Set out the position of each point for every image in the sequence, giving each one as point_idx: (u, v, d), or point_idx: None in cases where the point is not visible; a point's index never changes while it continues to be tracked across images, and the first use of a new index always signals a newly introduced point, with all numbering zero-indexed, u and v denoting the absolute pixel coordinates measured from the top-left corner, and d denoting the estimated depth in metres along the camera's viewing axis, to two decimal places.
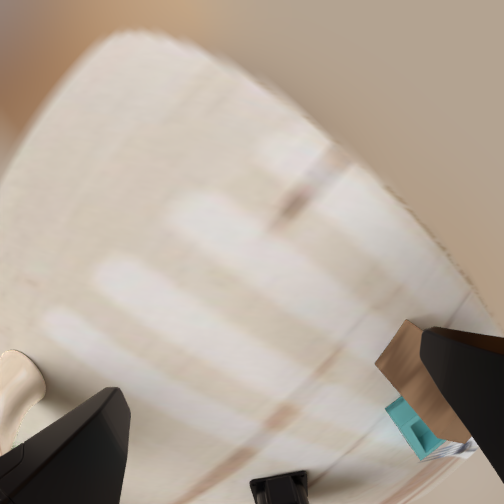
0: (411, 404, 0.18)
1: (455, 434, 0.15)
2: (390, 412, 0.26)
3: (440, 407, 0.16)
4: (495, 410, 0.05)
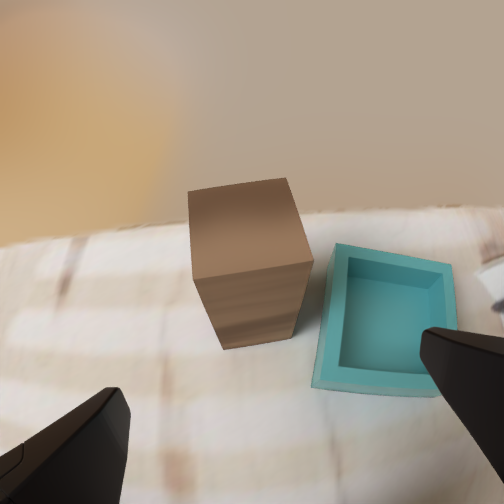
0: (208, 314, 0.16)
1: (240, 259, 0.13)
2: (313, 382, 0.19)
3: None
4: (495, 410, 0.05)
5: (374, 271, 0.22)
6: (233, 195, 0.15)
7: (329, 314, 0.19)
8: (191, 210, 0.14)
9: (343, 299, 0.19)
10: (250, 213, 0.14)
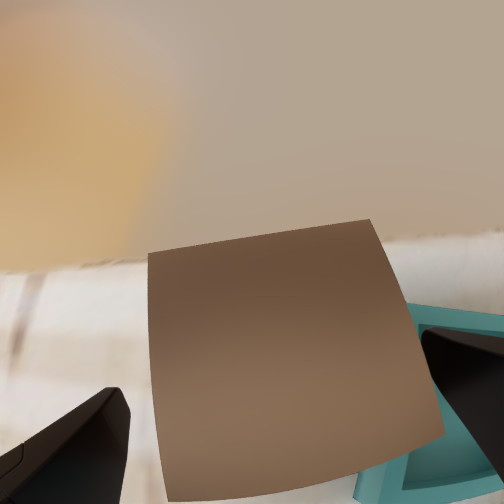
0: None
1: (284, 457, 0.04)
2: (359, 497, 0.10)
3: None
4: (495, 410, 0.05)
5: None
6: (256, 267, 0.06)
7: None
8: (154, 308, 0.06)
9: None
10: (303, 323, 0.05)
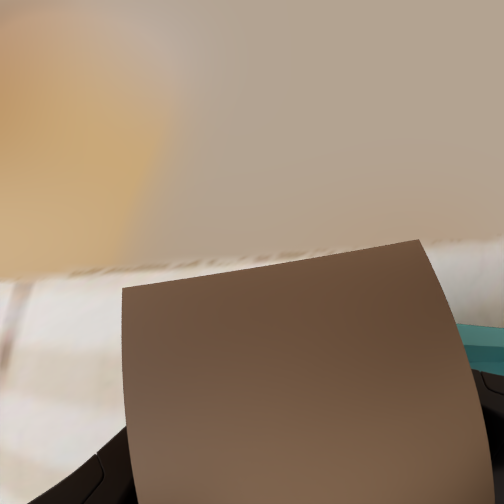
0: None
1: None
2: None
3: None
4: None
5: None
6: (273, 313, 0.04)
7: None
8: (131, 369, 0.04)
9: None
10: (340, 394, 0.03)
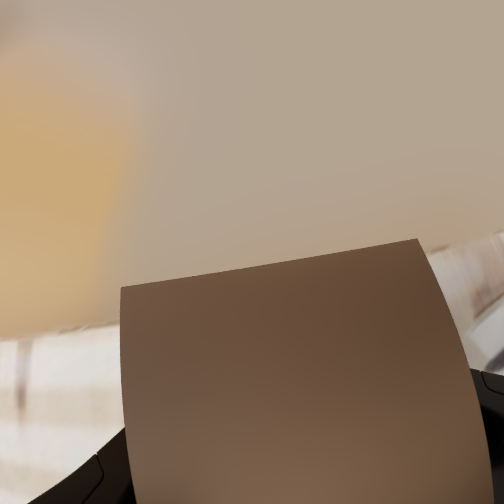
0: None
1: None
2: None
3: None
4: None
5: None
6: (272, 311, 0.04)
7: None
8: (129, 368, 0.04)
9: None
10: (337, 393, 0.04)
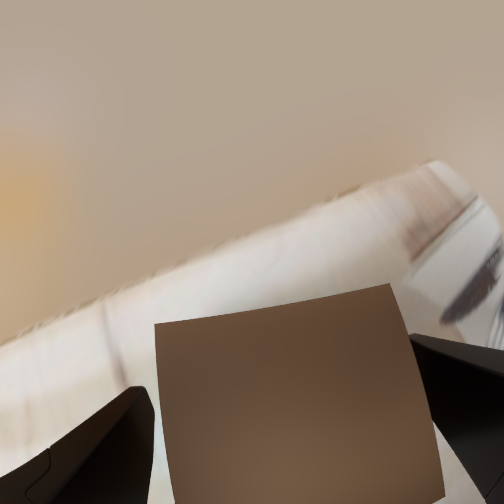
0: None
1: None
2: None
3: None
4: (474, 424, 0.05)
5: None
6: (270, 344, 0.06)
7: None
8: (165, 386, 0.05)
9: None
10: (318, 404, 0.05)
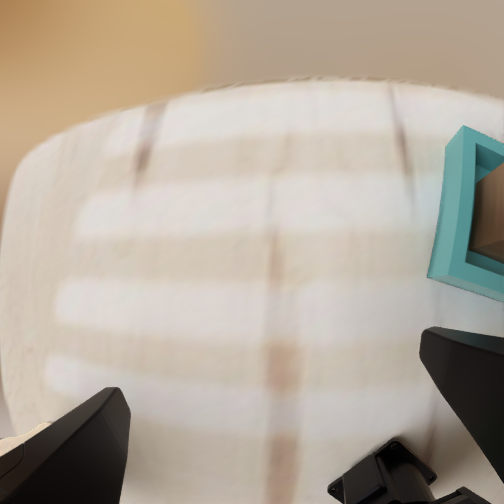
0: None
1: None
2: (432, 273, 0.17)
3: None
4: (495, 410, 0.05)
5: (494, 163, 0.15)
6: None
7: (459, 202, 0.15)
8: None
9: (472, 188, 0.14)
10: None
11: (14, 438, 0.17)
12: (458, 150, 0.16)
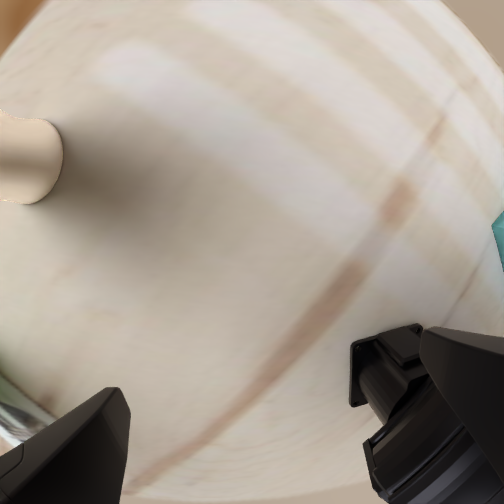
0: None
1: None
2: (499, 225, 0.20)
3: None
4: (495, 410, 0.05)
5: None
6: None
7: None
8: None
9: None
10: None
11: None
12: None
